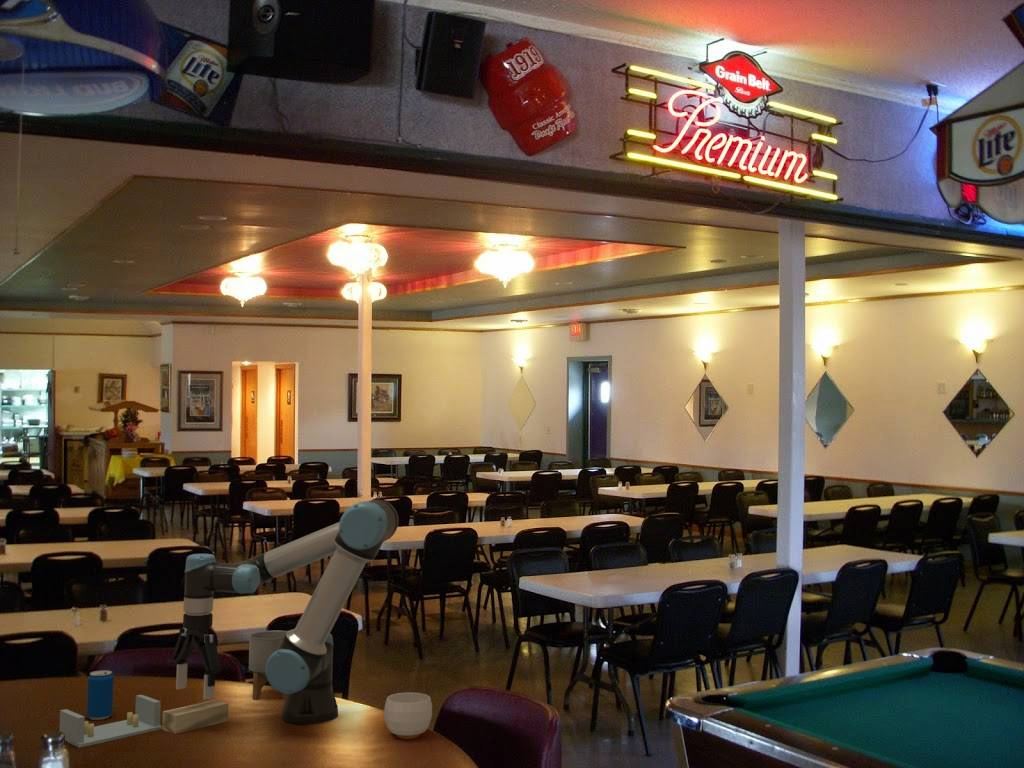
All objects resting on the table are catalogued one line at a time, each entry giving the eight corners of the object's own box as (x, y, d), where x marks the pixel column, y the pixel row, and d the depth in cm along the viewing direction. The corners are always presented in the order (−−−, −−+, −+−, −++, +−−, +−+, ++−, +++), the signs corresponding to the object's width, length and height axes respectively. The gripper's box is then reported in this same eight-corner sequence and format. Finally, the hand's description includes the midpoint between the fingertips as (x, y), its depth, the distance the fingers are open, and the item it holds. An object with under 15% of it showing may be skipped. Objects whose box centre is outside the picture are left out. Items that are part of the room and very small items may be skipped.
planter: (270, 703, 296) (271, 640, 297) (238, 696, 303) (240, 635, 304) (302, 693, 307) (303, 633, 308) (270, 687, 314) (272, 628, 315)
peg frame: (161, 729, 270) (162, 702, 270) (79, 747, 253) (80, 718, 254) (138, 720, 278) (139, 693, 278) (57, 737, 261) (58, 709, 262)
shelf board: (227, 722, 278) (228, 703, 278) (175, 735, 266) (175, 715, 266) (214, 718, 282) (215, 699, 282) (162, 730, 269) (162, 711, 270)
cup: (412, 745, 258) (412, 706, 259) (374, 737, 265) (374, 699, 265) (441, 733, 269) (441, 696, 269) (403, 726, 275) (404, 689, 276)
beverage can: (117, 715, 282) (118, 671, 283) (101, 721, 276) (102, 676, 276) (98, 713, 284) (99, 669, 285) (81, 719, 278) (82, 674, 279)
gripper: (236, 618, 269) (233, 700, 269) (186, 604, 286) (182, 682, 285) (211, 621, 264) (207, 705, 263) (161, 607, 281) (157, 686, 280)
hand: (194, 693), depth 274 cm, fingers open, 13 cm apart
